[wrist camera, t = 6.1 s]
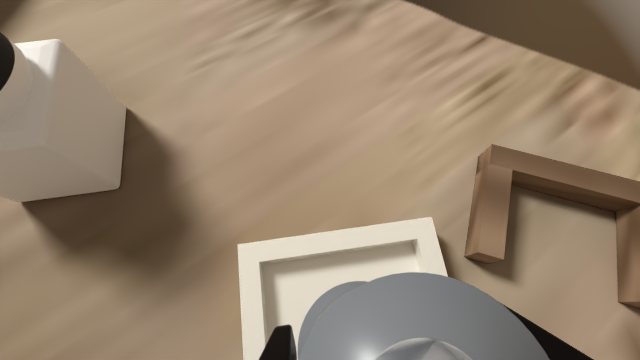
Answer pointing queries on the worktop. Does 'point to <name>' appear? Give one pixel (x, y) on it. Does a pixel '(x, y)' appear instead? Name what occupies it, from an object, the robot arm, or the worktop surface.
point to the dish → (324, 271)
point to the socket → (562, 181)
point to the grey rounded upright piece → (413, 323)
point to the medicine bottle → (56, 124)
